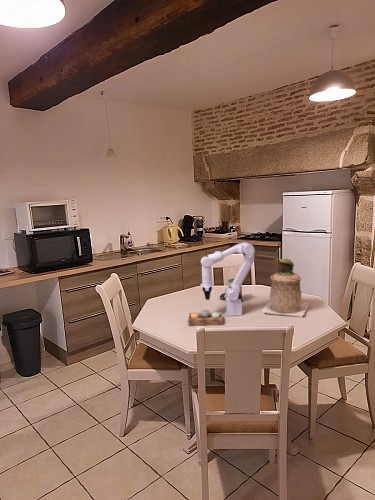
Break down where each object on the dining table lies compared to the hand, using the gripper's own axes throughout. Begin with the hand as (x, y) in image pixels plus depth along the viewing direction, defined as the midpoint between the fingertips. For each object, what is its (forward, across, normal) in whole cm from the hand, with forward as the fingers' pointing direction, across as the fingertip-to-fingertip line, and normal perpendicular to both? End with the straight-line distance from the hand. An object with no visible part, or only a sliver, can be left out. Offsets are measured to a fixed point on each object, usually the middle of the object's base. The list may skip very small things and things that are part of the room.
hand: (207, 299), depth 208 cm
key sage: (+9, +9, +5) cm, 13 cm away
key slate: (+8, +9, -1) cm, 12 cm away
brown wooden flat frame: (+10, +9, -1) cm, 14 cm away
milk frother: (+10, -29, +15) cm, 34 cm away
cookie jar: (+10, -7, +47) cm, 49 cm away
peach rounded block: (+9, +9, -7) cm, 15 cm away
